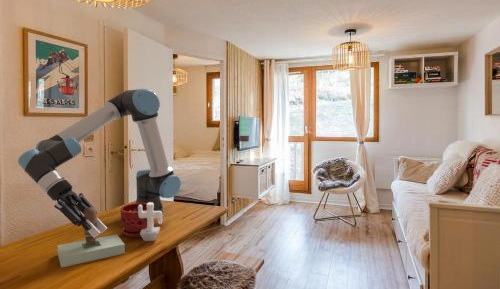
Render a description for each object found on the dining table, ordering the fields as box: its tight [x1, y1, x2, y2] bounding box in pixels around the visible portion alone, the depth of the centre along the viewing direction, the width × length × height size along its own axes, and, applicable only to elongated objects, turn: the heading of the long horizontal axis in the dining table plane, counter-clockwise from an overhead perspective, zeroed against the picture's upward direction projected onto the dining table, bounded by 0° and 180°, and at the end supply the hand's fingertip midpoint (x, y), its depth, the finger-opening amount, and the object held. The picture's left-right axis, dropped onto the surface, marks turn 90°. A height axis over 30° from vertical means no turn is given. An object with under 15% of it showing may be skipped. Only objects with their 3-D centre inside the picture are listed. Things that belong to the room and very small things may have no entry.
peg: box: [83, 206, 98, 246], centre depth 113 cm, size 4×4×13 cm
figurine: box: [138, 202, 163, 242], centre depth 128 cm, size 7×9×15 cm
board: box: [57, 233, 126, 268], centre depth 113 cm, size 20×12×4 cm, turn 126°
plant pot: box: [119, 202, 147, 238], centre depth 134 cm, size 13×13×12 cm
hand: (100, 232), depth 113 cm, fingers closed on peg, 4 cm apart
